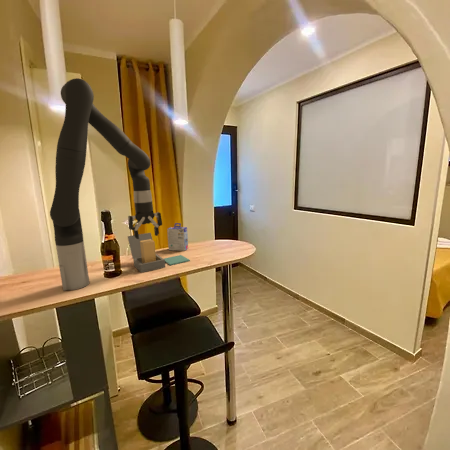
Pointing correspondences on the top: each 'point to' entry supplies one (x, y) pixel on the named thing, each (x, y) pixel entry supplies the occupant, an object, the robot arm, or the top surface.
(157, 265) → the case
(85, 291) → the top surface
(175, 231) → the ink cartridge box
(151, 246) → the block
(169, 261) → the mat
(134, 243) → the lid
